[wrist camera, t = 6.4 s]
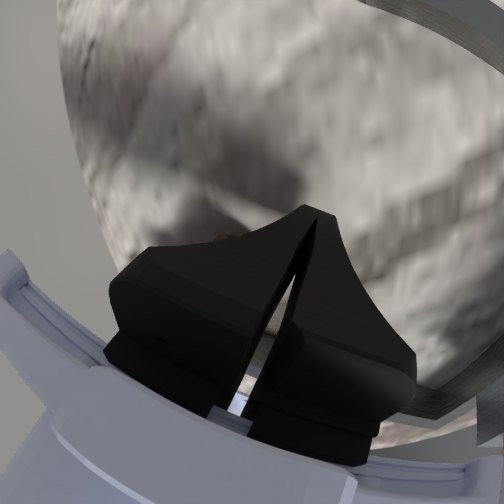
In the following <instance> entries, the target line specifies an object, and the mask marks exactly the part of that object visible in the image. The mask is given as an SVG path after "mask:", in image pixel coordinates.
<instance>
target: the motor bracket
mask: <svg viewBox="0 0 504 504" xmlns="http://www.w3.org/2000/svg"><path fill="white" fill-rule="evenodd" d="M366 4H367V5H370V6H373V7H376V8H379V9H382V10H385V11H388V12H390V13H393V14H396V15H398V16H401V17H403V18H406V19H408V20H411V21H413V22H415V23H417V24H420V25H422V26H424V27H426V28H428V29H430V30H432V31H434V32H436V33H438V34H440V35H442V36H444V37H446V38H448V39H450V40H452V41H453V42H455V43H457V44H459V45H460V46H462V47H464V48H465V49H467V50H469V51H470V52H472V53H473V54H475V55H476V56H478V57H480V58H481V59H483V60H484V61H485V62H487V63H488V64H490V65H491V66H493V67H494V68H495V69H497V70H498V71H499V72H501V73H502V74H503V75H504V10H503V9H501V8H500V7H499V6H497V5H496V4H494V3H493V2H491V1H490V0H366ZM275 338H276V337H274V336H271V335H269V334H266V333H264V334H263V336H262V338H261V341H260V343H259V345H258V347H257V349H256V351H255V354H254V356H253V358H252V360H251V362H250V364H249V367H248V369H247V371H246V373H245V374H247V375H250V376H252V377H255V378H257V379H258V377H259V374H260V372H261V370H262V368H263V365H264V363H265V361H266V359H267V356H268V354H269V352H270V350H271V347H272V345H273V343H274V340H275ZM476 406H477V447H503V456H504V335H503V336H502V337H501V338H500V339H499V340H497V341H496V342H495V343H494V344H493V345H492V346H491V347H490V348H489V349H488V350H487V351H486V352H485V353H484V354H483V355H481V356H480V357H479V358H478V359H477V360H476V361H475V362H473V363H472V364H471V365H470V366H469V367H468V368H466V369H465V370H464V371H463V372H461V373H460V374H459V375H458V376H456V377H455V378H454V379H452V380H451V381H450V382H448V383H447V384H446V385H444V386H443V387H442V388H440V389H439V390H437V391H434V390H431V389H427V388H423V387H419V386H416V395H415V397H414V398H413V400H412V402H411V403H410V404H408V405H407V406H406V407H405V408H403V409H402V410H401V411H399V412H398V413H396V414H394V415H393V416H391V417H389V418H387V419H386V420H388V421H392V422H397V423H402V424H407V425H412V426H417V427H423V428H429V429H435V430H437V429H438V428H440V427H442V426H444V425H446V424H448V423H450V422H451V421H453V420H455V419H457V418H458V417H460V416H462V415H464V414H465V413H467V412H468V411H470V410H472V409H473V408H475V407H476Z"/></svg>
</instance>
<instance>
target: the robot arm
mask: <svg viewBox="0 0 504 504" xmlns="http://www.w3.org/2000/svg"><path fill="white" fill-rule="evenodd" d="M294 275H295V278H294V282H293V285H292V289H291V292H290V296H289V299H288V303H287V306H286V310H285V313H284V317H283V320H282V323H281V326H280V328H279V331H278V333H277V336H276V338H275V340H274V343H273V345H272V347H271V350H270V352H269V354H268V356H267V359H266V361H265V363H264V365H263V368H262V370H261V372H260V374H259V377H258V379H257V381H256V383H255V385H254V387H253V390H252V392H251V394H250V396H249V395H247V394H245V393H242V392H240V391H238V388H239V386H240V383H241V381H242V379H243V377H244V375H245V373H246V371H247V369H248V367H249V364H250V362H251V360H252V358H253V356H254V354H255V351H256V349H257V347H258V345H259V343H260V341H261V338H262V336H263V334H264V332H265V329H266V327H267V325H268V323H269V321H270V319H271V317H272V315H273V313H274V311H275V310H276V308H277V306H278V304H279V303H280V301H281V299H282V297H283V295H284V294H285V292H286V290H287V288H288V286H289V285H290V283H291V281H292V279H293V277H294ZM109 297H110V303H111V306H112V309H113V312H114V315H115V318H116V321H117V324H118V327H119V332H118V333H117V334H116V335H115V336H114V337H113V338H112V340H111V341H110V342H109V343H108V344H107V343H106V342H104V341H103V340H102V339H100V338H99V337H97V336H96V335H95V334H93V333H92V332H91V331H89V330H88V329H87V328H85V327H84V326H83V325H82V324H80V323H79V322H78V321H76V320H75V319H74V318H73V317H71V316H70V315H69V314H68V313H67V312H65V311H64V310H63V309H62V308H60V307H59V306H58V305H57V304H56V303H55V302H54V301H52V300H51V299H50V298H49V297H48V296H47V295H46V294H44V293H43V292H42V291H41V290H40V289H39V288H38V287H37V286H36V285H35V284H34V283H33V282H32V281H31V280H30V279H29V275H28V273H27V271H26V269H25V267H24V265H23V263H22V262H21V261H20V259H19V258H18V257H16V255H15V254H13V252H11V250H9V249H7V250H6V251H5V252H4V253H2V254H1V255H0V348H1V350H2V351H3V353H4V354H5V356H6V357H7V359H8V360H9V361H10V362H11V364H12V366H13V367H14V368H15V370H16V371H17V372H18V374H19V375H20V376H21V378H22V379H23V380H24V381H25V383H26V384H27V385H28V386H29V387H30V389H31V390H32V391H33V392H34V393H35V395H36V396H37V397H38V398H39V399H40V400H41V402H43V404H44V405H45V406H46V407H47V409H46V410H45V412H44V413H43V414H42V416H41V417H40V418H39V420H38V421H37V422H36V424H35V425H34V427H33V428H32V430H31V431H30V432H29V434H28V435H27V437H26V438H25V439H24V441H23V442H22V444H21V445H20V447H19V448H18V450H17V451H16V453H15V454H14V456H13V457H12V459H11V460H10V462H9V463H8V465H7V466H6V468H5V470H4V471H3V473H2V474H1V476H0V504H498V499H499V493H500V485H501V476H502V464H503V456H502V455H488V456H483V457H479V458H477V459H474V460H472V461H470V462H468V463H467V464H448V463H426V462H414V461H405V460H397V459H389V458H383V457H377V456H371V455H369V451H370V446H371V442H372V437H373V438H374V437H376V436H377V435H378V434H379V429H380V423H381V422H382V421H384V420H386V419H387V418H389V417H391V416H393V415H394V414H396V413H398V412H399V411H401V410H402V409H403V408H405V407H406V406H407V405H408V404H410V403H411V402H412V400H413V398H414V397H415V395H416V381H417V362H416V354H415V353H414V351H413V350H412V349H411V348H410V347H409V346H408V345H407V344H406V343H405V341H404V340H403V339H402V338H401V337H400V336H399V335H398V334H397V333H396V332H395V330H394V329H393V328H392V327H391V325H390V324H389V323H388V322H387V320H386V319H385V318H384V317H383V315H382V314H381V313H380V311H379V310H378V309H377V307H376V306H375V304H374V303H373V301H372V300H371V298H370V297H369V295H368V294H367V292H366V290H365V289H364V287H363V286H362V284H361V282H360V280H359V278H358V276H357V274H356V273H355V271H354V269H353V267H352V265H351V262H350V260H349V257H348V255H347V252H346V249H345V247H344V244H343V241H342V238H341V234H340V231H339V227H338V223H337V219H336V217H335V216H334V215H331V214H329V213H326V212H324V211H321V210H319V209H316V208H313V207H311V206H308V205H305V204H304V205H301V206H300V207H298V208H297V209H295V210H294V211H292V212H291V213H289V214H288V215H286V216H284V217H282V218H281V219H279V220H277V221H275V222H273V223H271V224H269V225H267V226H265V227H263V228H260V229H258V230H255V231H253V232H250V233H247V234H244V235H241V236H237V237H233V238H228V239H224V240H219V241H215V242H208V243H202V244H193V245H183V246H160V247H148V248H147V249H146V250H144V251H143V252H142V253H141V254H139V255H138V256H137V257H136V258H135V259H134V260H133V261H132V262H131V263H130V264H129V265H128V266H126V267H125V268H124V269H123V270H122V271H121V272H120V273H119V274H118V275H117V276H116V277H115V278H114V279H113V280H112V281H111V282H110V286H109Z"/></svg>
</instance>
